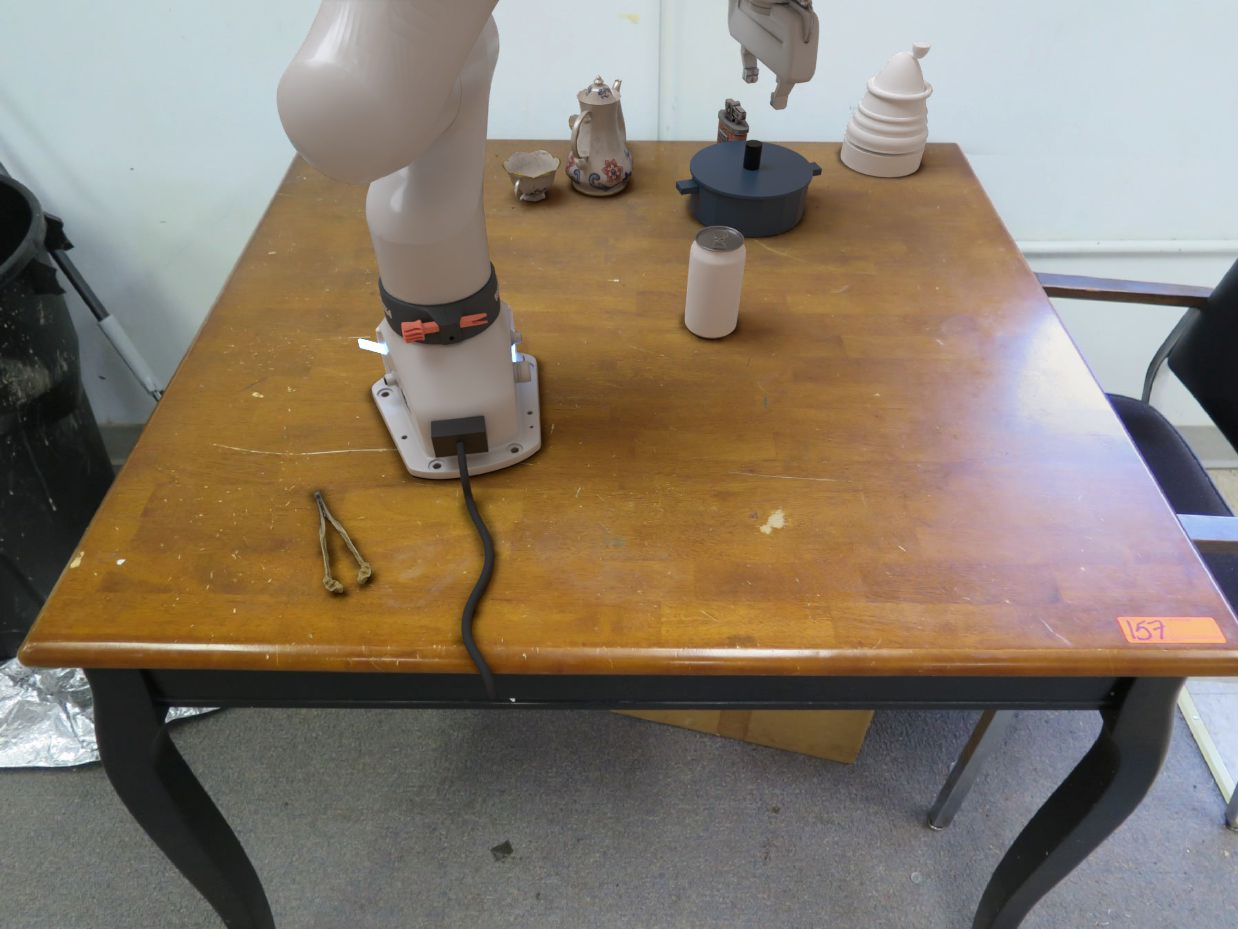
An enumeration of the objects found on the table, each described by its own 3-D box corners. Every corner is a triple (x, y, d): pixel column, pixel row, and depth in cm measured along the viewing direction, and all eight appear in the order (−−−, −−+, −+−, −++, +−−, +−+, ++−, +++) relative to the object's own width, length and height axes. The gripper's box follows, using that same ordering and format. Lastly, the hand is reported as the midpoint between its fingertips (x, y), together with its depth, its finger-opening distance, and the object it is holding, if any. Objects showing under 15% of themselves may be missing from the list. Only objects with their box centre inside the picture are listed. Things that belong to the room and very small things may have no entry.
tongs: (329, 490, 78) (324, 477, 77) (378, 583, 71) (373, 571, 70) (287, 507, 77) (281, 494, 75) (333, 604, 70) (327, 592, 68)
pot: (838, 225, 115) (846, 186, 111) (696, 247, 111) (700, 207, 106) (788, 174, 126) (794, 137, 122) (658, 192, 122) (659, 154, 117)
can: (736, 311, 100) (747, 225, 91) (736, 342, 96) (748, 254, 87) (685, 307, 100) (692, 222, 92) (683, 338, 96) (690, 251, 87)
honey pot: (929, 154, 132) (964, 37, 119) (905, 184, 124) (939, 63, 111) (856, 136, 136) (881, 22, 123) (828, 164, 129) (852, 46, 116)
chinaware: (582, 144, 137) (569, 40, 126) (669, 153, 131) (664, 45, 119) (496, 216, 120) (472, 103, 108) (592, 231, 113) (578, 112, 102)
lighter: (709, 156, 131) (715, 94, 124) (728, 153, 131) (735, 91, 124) (728, 177, 125) (735, 114, 118) (748, 174, 126) (756, 111, 119)
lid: (833, 193, 111) (840, 162, 107) (716, 211, 107) (719, 179, 104) (779, 141, 122) (784, 111, 119) (672, 155, 119) (674, 124, 115)
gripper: (840, -1, 90) (819, 121, 100) (768, -46, 103) (755, 65, 113) (790, 4, 88) (773, 127, 98) (723, -42, 102) (714, 70, 112)
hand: (763, 94), depth 106 cm, fingers open, 8 cm apart
